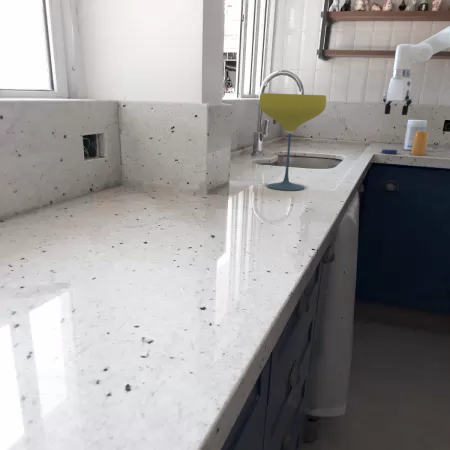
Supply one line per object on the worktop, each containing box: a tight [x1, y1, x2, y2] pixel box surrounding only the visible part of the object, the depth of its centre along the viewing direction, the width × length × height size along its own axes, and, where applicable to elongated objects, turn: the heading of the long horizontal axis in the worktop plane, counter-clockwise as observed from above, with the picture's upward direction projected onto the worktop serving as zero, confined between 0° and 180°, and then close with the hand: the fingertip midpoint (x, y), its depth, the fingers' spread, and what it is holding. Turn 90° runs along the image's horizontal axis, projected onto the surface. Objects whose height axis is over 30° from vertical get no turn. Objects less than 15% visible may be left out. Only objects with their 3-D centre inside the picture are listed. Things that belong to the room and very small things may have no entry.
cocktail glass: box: [258, 92, 327, 192], centre depth 136 cm, size 18×18×25 cm
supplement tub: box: [403, 119, 428, 151], centre depth 250 cm, size 10×10×15 cm
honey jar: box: [410, 130, 430, 156], centre depth 232 cm, size 6×6×11 cm
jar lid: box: [381, 148, 398, 155], centre depth 234 cm, size 7×7×2 cm
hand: (395, 114), depth 228 cm, fingers open, 9 cm apart
